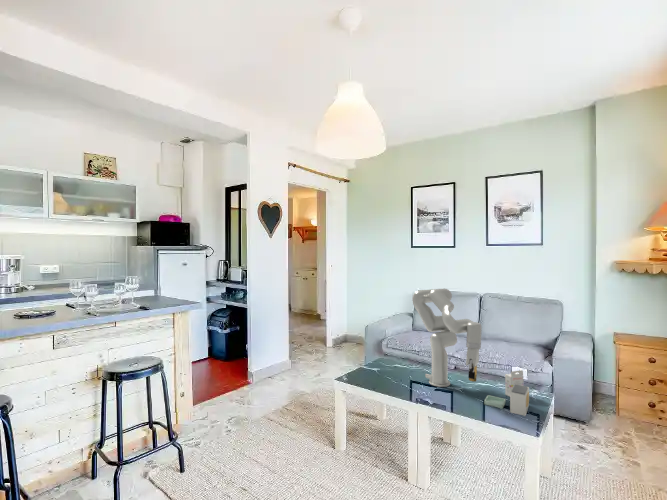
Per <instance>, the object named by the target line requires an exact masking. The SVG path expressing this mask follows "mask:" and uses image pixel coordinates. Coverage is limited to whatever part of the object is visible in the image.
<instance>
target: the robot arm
mask: <svg viewBox="0 0 667 500" xmlns="http://www.w3.org/2000/svg"><path fill="white" fill-rule="evenodd" d="M452 295H453V294H452V292H451V291H450V290H449V289H448V288H434V289H433V288H431V289H430V288H429V289H420V290H416V291H415V292H414V293H413V294H412V300H411V301H412V305H413V307H414V309H415V310H416V311H417V313H418V315H419V317H420V319H421V321H422V323H423V325H424V327H425V329H426V330H427V331H428V332H430V333H432V334H431V335H430V338H429V342H430V348H431V373H430V374H428V373H425V375H424V376H425V378H426V379H428V383H429V384H430V385H431V386H434V387H439V388H446V387H449V386H450V385H451V381H450V380H448V376H449V375H448V371H449V370H448V367H449V365H448V362H449V361H448V360H449V359H448V357H449V355H448V352H447V350H446V348H450V347H453V346H455V345H456V344H457V342H458V338H457V335H458V334H463V333H465V334H466V343H465V344H466V346H465V347H466V348H467V350H466V358H465V359H466V360H465V365H466V366H468V379H469V378H470V379H475V372H474V369H475V366H477V367H478V364H479V362H480V350H481V349H482V328H483V327H482V324H481V323H480V322H477V321H473V320H472V319H468V318H463V319H455V318H454V317H453V316H452V314H451V312H453V311H454V309H455V304H454V303H453V302H452V301H451V300H452V297H453V296H452ZM428 303H433V304H434V306H436V308H437V309H438V310H439V311H440V312H441V313H442V314H441V315H435V313H434V312H433V310H432V308H431V307H430V306H429V305H428ZM472 365H474V366H472ZM472 367H473V368H472Z"/></svg>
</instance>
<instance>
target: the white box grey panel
mask: <svg viewBox="0 0 667 500" xmlns="http://www.w3.org/2000/svg"><path fill="white" fill-rule="evenodd" d="M509 400H510V401H509V409H510V410H509V413H510V414H511V413H512V414H516V415H520V416H523V417H526V415H527V413H528V409H529V406H530V403H529V402H530V387H529V386H525V385H523V386H521V385H516V384H514V386H513V388H512V390H511V392H510V399H509Z"/></svg>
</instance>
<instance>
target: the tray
mask: <svg viewBox="0 0 667 500" xmlns="http://www.w3.org/2000/svg"><path fill="white" fill-rule="evenodd" d="M506 400H507V399H506V398H503V397H499V396H494V395H489V394H487V395H486V397H485V398H484V401H483V405H484V406H489V407H493V408H498V409H502V410H503V409H504V407H505V405H506V402H507V401H506Z"/></svg>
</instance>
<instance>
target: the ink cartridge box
mask: <svg viewBox="0 0 667 500" xmlns="http://www.w3.org/2000/svg"><path fill="white" fill-rule="evenodd" d="M504 379H505V384H504V385H505V387H504V388H505V391H504V392H505V394H504V395H505V396H507V397H510V392H511V390H512V388H513V386H514V384H516V385H521V386H524V371H523V370H522V369H521V370H514V371H511V372H510V373H506V374H505V375H504Z"/></svg>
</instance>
